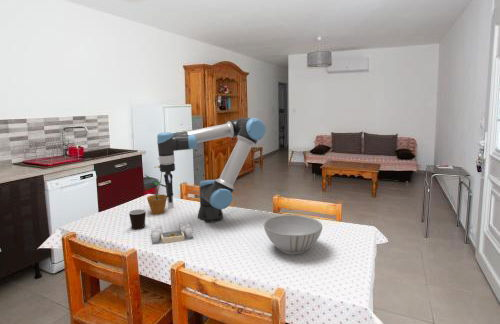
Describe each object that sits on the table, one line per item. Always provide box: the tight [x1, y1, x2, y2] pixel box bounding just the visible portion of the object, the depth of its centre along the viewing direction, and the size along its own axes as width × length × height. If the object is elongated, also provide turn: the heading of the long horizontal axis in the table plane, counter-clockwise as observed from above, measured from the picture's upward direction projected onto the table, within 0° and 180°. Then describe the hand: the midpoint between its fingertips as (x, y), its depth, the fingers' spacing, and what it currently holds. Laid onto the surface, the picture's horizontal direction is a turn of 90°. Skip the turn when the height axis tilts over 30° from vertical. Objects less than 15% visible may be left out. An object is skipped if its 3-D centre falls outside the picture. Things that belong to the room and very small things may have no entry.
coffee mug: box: [128, 208, 147, 231], centre depth 186 cm, size 12×9×10 cm
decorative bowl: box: [263, 214, 323, 255], centre depth 158 cm, size 27×27×12 cm
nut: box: [168, 233, 178, 237], centre depth 170 cm, size 4×5×2 cm
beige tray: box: [150, 222, 195, 246], centre depth 172 cm, size 20×14×6 cm
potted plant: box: [145, 165, 167, 215], centre depth 211 cm, size 18×19×30 cm
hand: (170, 207), depth 177 cm, fingers closed
